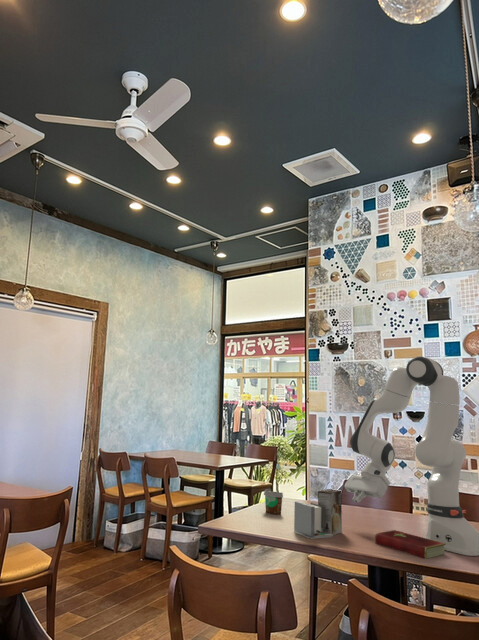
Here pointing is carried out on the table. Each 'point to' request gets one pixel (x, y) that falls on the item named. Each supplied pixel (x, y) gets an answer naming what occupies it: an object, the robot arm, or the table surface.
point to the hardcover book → (410, 544)
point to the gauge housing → (306, 521)
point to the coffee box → (331, 510)
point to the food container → (273, 502)
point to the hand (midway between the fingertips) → (355, 501)
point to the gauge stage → (319, 517)
